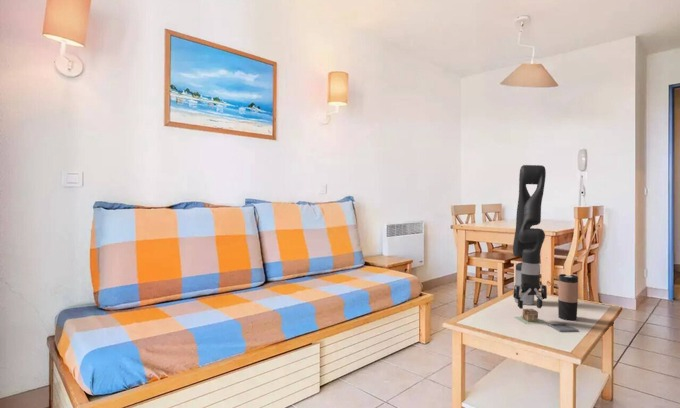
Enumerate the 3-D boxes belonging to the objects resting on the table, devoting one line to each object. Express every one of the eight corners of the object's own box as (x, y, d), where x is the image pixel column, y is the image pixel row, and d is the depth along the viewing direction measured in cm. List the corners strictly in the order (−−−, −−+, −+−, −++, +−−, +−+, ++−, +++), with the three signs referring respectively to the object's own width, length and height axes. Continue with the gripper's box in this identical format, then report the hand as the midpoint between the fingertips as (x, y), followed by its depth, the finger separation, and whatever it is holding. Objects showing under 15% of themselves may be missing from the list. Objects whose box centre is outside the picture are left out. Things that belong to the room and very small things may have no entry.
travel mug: (567, 322, 170) (568, 277, 170) (553, 317, 178) (554, 274, 177) (581, 321, 173) (582, 277, 172) (567, 315, 180) (568, 273, 179)
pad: (513, 317, 177) (513, 316, 177) (534, 317, 177) (534, 316, 177) (525, 325, 167) (525, 324, 167) (547, 324, 167) (547, 323, 167)
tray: (548, 326, 165) (548, 323, 165) (565, 326, 166) (565, 323, 166) (560, 332, 157) (560, 330, 157) (578, 332, 158) (578, 329, 158)
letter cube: (522, 318, 174) (522, 308, 174) (532, 318, 174) (532, 308, 174) (528, 322, 169) (528, 311, 169) (537, 321, 170) (538, 311, 170)
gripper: (541, 270, 176) (540, 305, 176) (511, 270, 175) (510, 305, 175) (551, 274, 168) (550, 310, 169) (519, 274, 167) (518, 311, 168)
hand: (529, 308), depth 172 cm, fingers open, 8 cm apart
